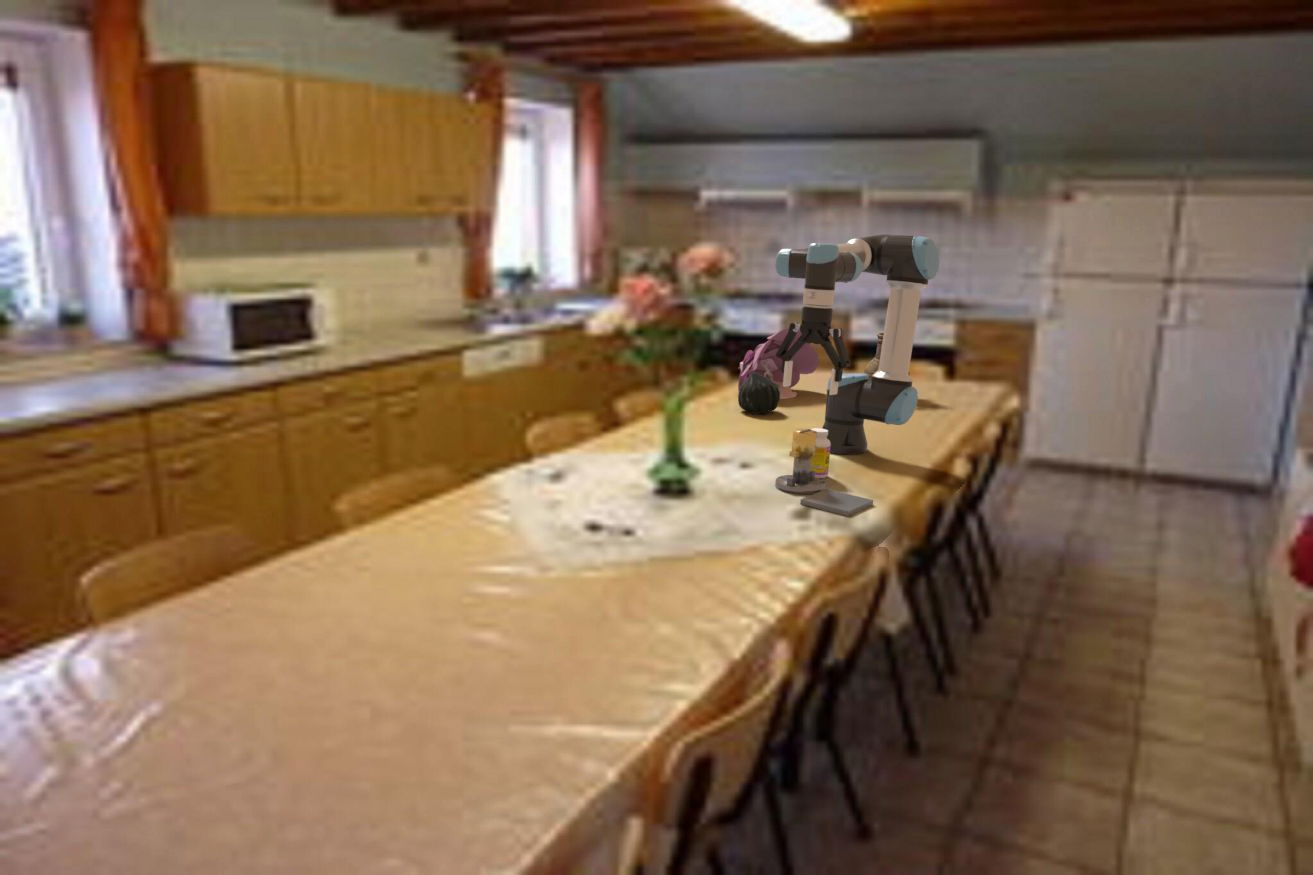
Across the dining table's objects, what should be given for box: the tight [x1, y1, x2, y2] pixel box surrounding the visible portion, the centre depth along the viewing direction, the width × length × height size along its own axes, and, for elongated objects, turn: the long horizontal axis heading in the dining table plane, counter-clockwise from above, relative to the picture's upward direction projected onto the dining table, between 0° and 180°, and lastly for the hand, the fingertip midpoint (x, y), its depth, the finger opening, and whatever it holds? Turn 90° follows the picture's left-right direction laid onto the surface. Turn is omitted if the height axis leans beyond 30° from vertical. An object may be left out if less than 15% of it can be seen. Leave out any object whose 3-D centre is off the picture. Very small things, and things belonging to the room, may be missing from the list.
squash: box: [737, 372, 781, 415], centre depth 335 cm, size 14×15×15 cm
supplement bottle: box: [810, 427, 831, 479], centre depth 256 cm, size 7×7×13 cm
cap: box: [788, 428, 817, 458], centre depth 243 cm, size 11×6×6 cm, turn 141°
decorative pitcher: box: [863, 332, 911, 381], centre depth 372 cm, size 22×18×25 cm
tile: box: [800, 488, 874, 517], centre depth 233 cm, size 13×13×1 cm
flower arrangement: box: [737, 328, 820, 400], centre depth 368 cm, size 35×24×28 cm
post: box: [774, 456, 827, 496], centre depth 245 cm, size 13×13×9 cm
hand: (809, 390), depth 240 cm, fingers open, 13 cm apart
